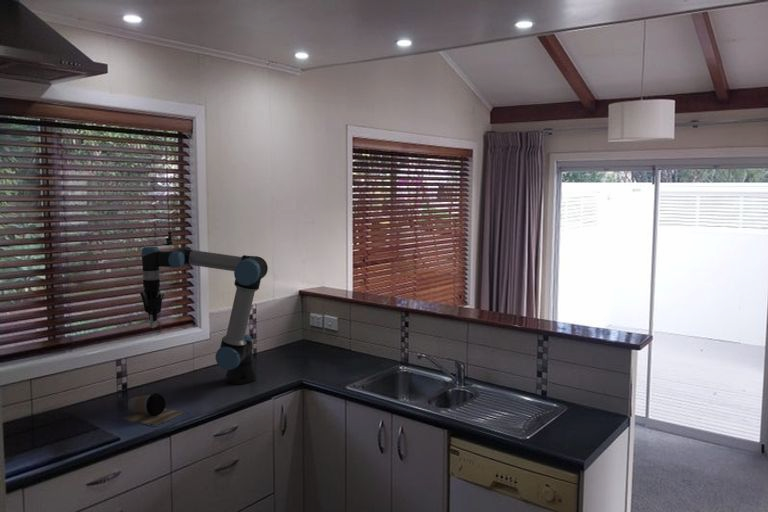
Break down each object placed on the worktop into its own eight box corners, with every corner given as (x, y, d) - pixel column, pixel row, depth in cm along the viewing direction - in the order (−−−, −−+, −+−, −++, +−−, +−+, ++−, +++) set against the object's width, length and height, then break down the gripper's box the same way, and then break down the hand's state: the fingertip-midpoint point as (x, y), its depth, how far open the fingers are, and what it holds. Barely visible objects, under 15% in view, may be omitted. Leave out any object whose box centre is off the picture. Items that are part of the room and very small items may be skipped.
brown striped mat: (183, 413, 270) (183, 412, 269) (156, 426, 255) (156, 425, 255) (152, 407, 277) (151, 406, 277) (123, 419, 262) (123, 418, 262)
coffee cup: (121, 400, 265) (146, 400, 258) (137, 389, 273) (162, 389, 266) (128, 419, 267) (154, 420, 261) (144, 408, 275) (169, 408, 269)
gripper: (135, 279, 299) (137, 327, 302) (155, 281, 294) (158, 330, 296) (146, 277, 306) (149, 324, 309) (167, 278, 301) (169, 326, 303)
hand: (153, 327), depth 303 cm, fingers closed
